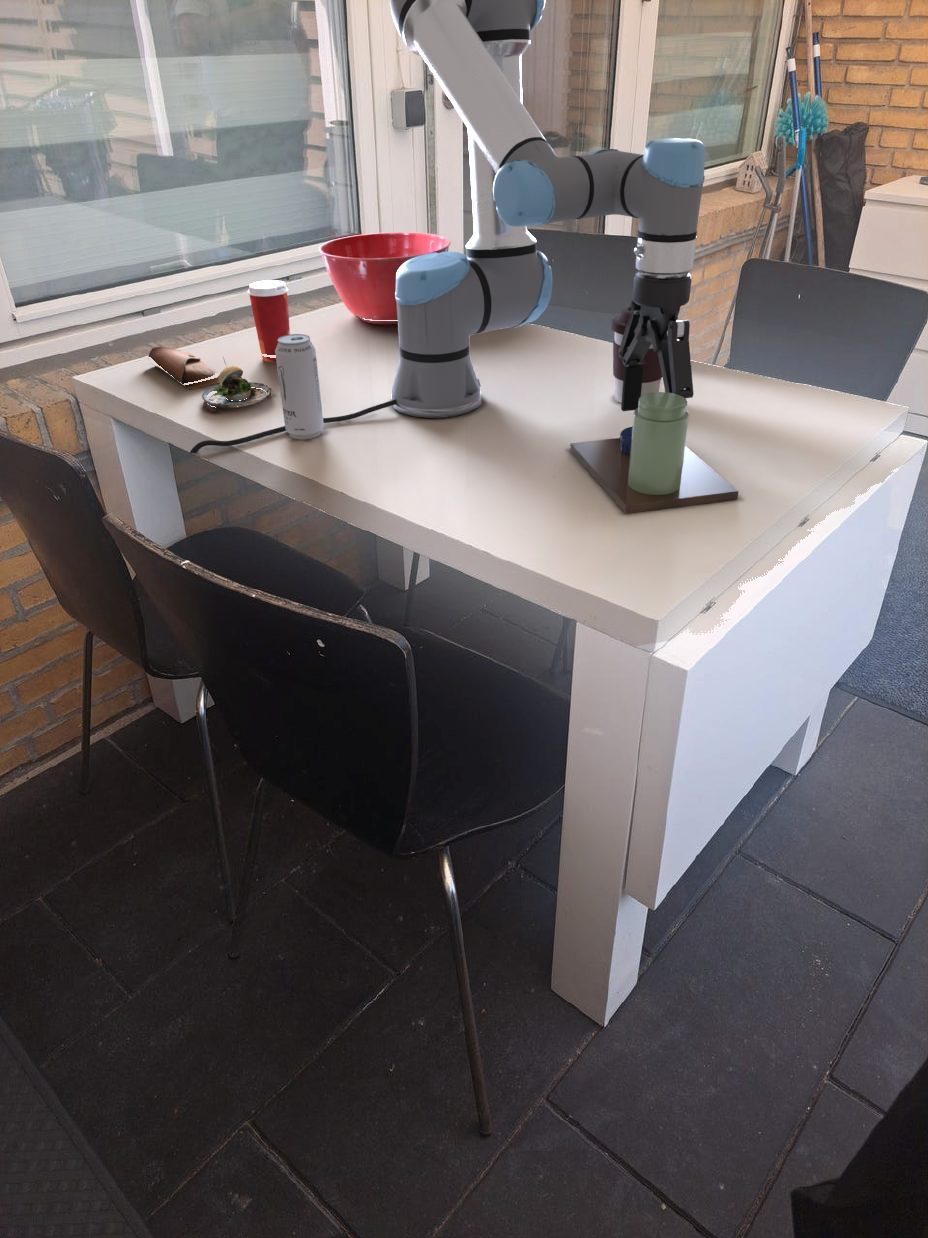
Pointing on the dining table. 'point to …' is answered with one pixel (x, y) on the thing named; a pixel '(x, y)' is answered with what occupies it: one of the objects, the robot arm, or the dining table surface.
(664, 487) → the jar
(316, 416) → the energy drink can
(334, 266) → the mixing bowl
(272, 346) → the paper cup
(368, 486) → the dining table surface
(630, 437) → the lid
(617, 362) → the coffee cup
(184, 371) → the sunglasses case
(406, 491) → the dining table surface
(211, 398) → the burger
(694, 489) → the board
